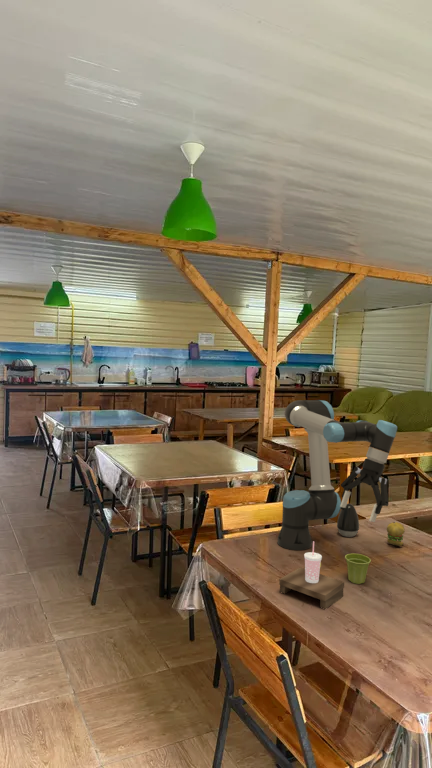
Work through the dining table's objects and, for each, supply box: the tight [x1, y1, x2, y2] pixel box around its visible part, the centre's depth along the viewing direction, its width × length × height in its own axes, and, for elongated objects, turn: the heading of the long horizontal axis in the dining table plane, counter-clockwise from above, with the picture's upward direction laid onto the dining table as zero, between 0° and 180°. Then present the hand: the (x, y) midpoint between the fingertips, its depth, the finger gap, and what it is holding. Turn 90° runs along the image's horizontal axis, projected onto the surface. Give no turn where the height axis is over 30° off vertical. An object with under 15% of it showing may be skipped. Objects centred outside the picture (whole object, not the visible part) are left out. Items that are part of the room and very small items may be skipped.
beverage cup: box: [303, 541, 323, 583], centre depth 181 cm, size 6×6×14 cm
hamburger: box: [386, 520, 406, 547], centre depth 231 cm, size 8×7×12 cm
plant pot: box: [344, 553, 372, 585], centre depth 194 cm, size 9×9×9 cm
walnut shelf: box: [278, 566, 345, 610], centre depth 182 cm, size 18×14×5 cm
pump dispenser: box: [336, 503, 360, 538], centre depth 243 cm, size 10×10×15 cm
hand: (356, 514), depth 194 cm, fingers open, 13 cm apart
